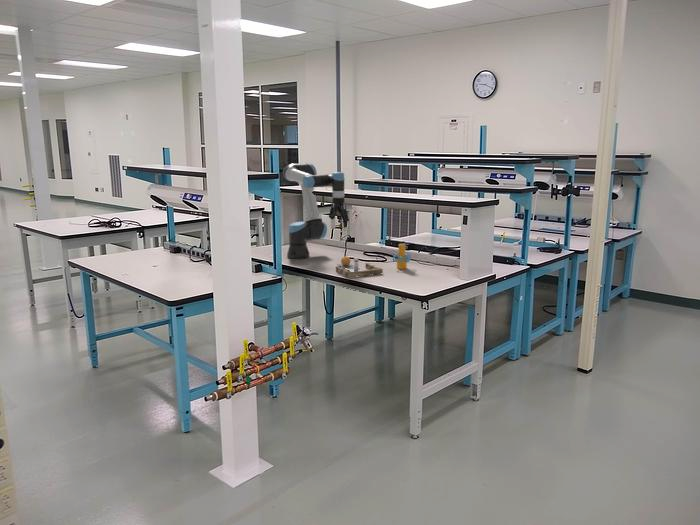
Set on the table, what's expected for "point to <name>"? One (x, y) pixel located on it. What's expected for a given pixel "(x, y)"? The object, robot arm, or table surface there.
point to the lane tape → (347, 266)
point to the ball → (345, 261)
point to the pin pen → (370, 266)
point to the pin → (355, 263)
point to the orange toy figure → (401, 257)
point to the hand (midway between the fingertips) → (338, 230)
